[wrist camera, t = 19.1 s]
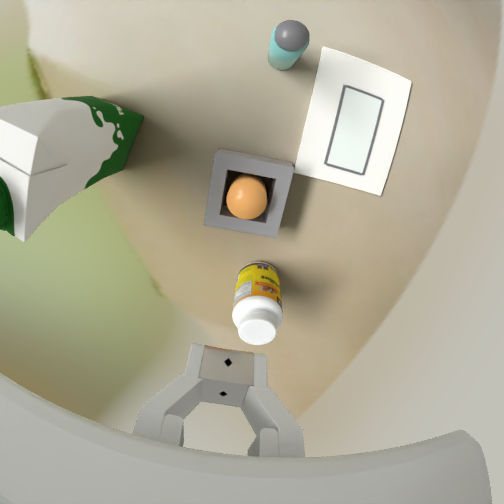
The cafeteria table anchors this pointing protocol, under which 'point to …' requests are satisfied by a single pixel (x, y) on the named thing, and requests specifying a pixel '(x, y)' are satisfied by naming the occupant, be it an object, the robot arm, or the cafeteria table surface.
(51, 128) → the milk carton
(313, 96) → the worksheet
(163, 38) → the cafeteria table surface
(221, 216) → the button housing
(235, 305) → the supplement bottle
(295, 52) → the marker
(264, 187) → the button
